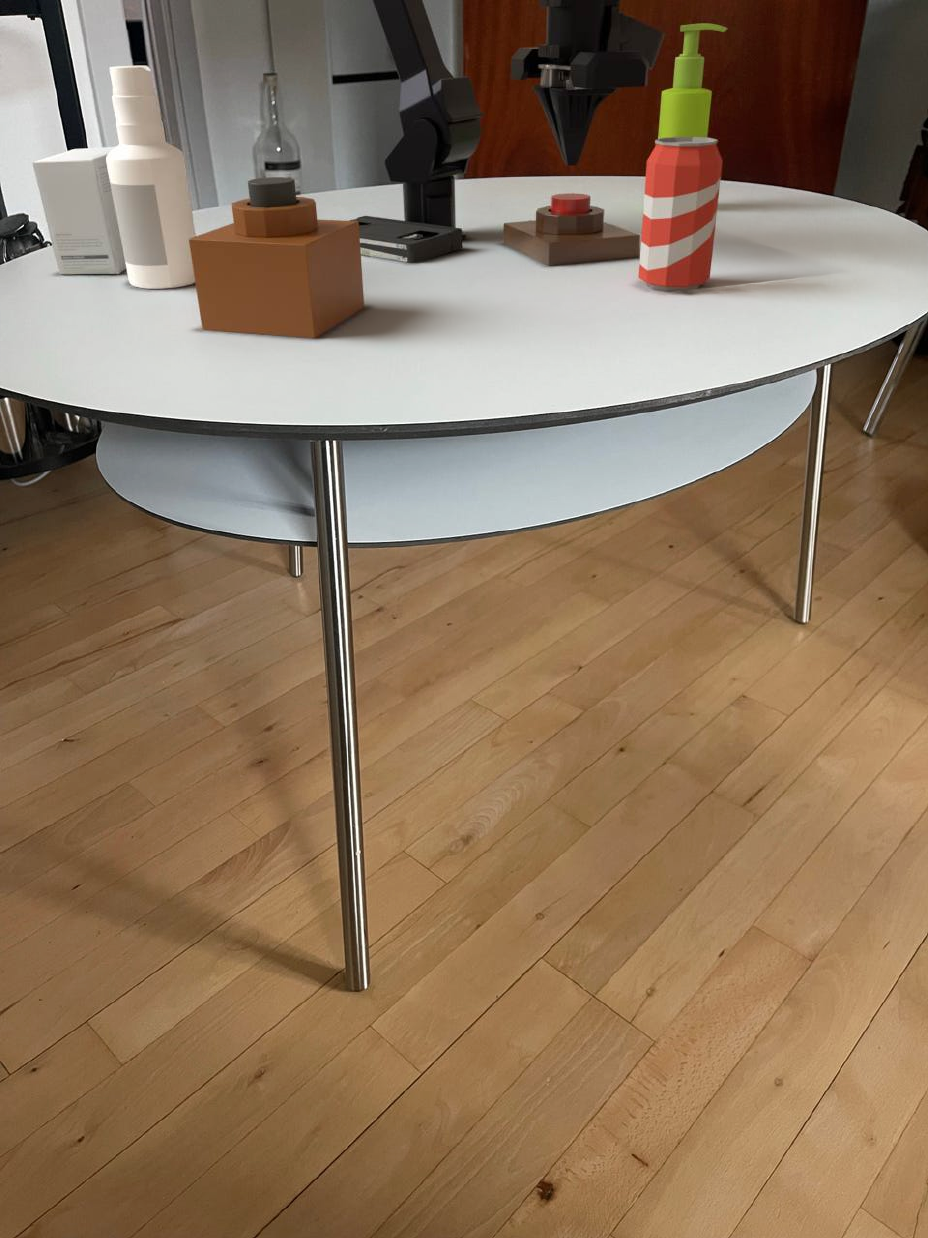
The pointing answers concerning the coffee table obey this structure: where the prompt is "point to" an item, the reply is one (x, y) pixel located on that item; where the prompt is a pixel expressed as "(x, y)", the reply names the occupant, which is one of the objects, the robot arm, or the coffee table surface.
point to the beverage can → (680, 213)
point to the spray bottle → (149, 187)
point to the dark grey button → (272, 192)
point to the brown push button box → (278, 271)
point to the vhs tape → (406, 239)
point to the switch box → (571, 238)
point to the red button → (570, 203)
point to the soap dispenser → (687, 90)
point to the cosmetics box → (81, 211)
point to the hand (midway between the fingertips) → (571, 164)
